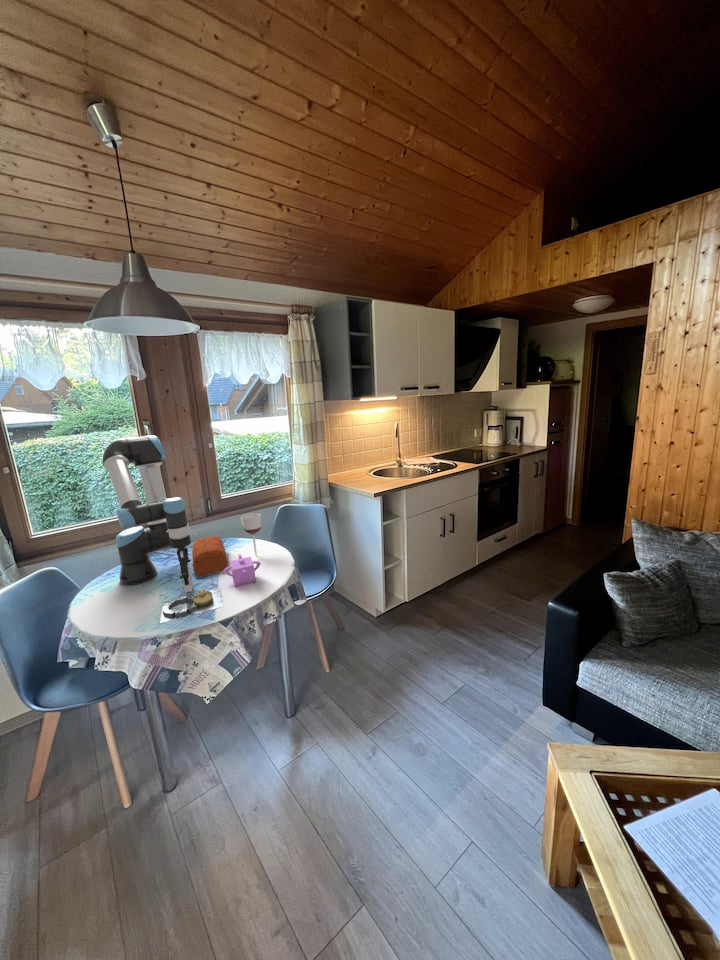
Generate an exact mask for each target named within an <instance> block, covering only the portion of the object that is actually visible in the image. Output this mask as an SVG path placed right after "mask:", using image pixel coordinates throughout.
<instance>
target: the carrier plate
mask: <svg viewBox="0 0 720 960" xmlns="http://www.w3.org/2000/svg"><path fill="white" fill-rule="evenodd" d="M208 591H209V592H211V593H212V596H213V601H212V602H211V603H210V604H208V605H205V606H198V605H197V604H195V603H194V601H193V597H194V596H195V595H196V594H197V593H196V594H191V595H188V596H187V595H183V596H180V597H176V598H175V599H172V600H171V599H170V600H168V601H167V600H166V601H163V602H162V603H161V612H160V620H159V624H162V623H166V622H170V621H171V622H172V621H173V620H177V619H182V618H186V617H189V616H193V615H197V614H200V613H204V612H207V611H208V612H209V611H211V610H212V611H213V610H216V609H219V608H223V607H225V604H224V599H223V593H222V588H216V589H211V590H208Z"/></svg>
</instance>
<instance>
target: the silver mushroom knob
mask: <svg viewBox="0 0 720 960" xmlns="http://www.w3.org/2000/svg"><path fill="white" fill-rule="evenodd" d="M191 575H192V574H191ZM191 575H189V576H190V581H191V587H192V591H190V592H186V593H185V594H192V593H193V592H194V584H193V577H191Z"/></svg>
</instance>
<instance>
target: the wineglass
mask: <svg viewBox="0 0 720 960" xmlns="http://www.w3.org/2000/svg"><path fill="white" fill-rule="evenodd" d="M240 519H241V520H240V521H241V524H242V528H243V530H244V531H245V533H247V534H250V535H252V541H253V548H254V554H252V555H250V556H249V557H251V559H252V562H253V561H261V560H263V559H264V558H265V557H266V556H265V554H264V553H263V554H262V553H258V552H257V546H256V540H255V539H256V538H255V534H257V533H258V532H259V531H260V530H261V527H262V515H261V513H259V512H251V513H250V512H249V513H245V514H243V515H241V516H240Z"/></svg>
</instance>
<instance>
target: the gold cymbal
mask: <svg viewBox="0 0 720 960" xmlns="http://www.w3.org/2000/svg"><path fill="white" fill-rule="evenodd" d="M209 591H210V590H208V591H206V590H205V589H200V590H198V593H196V595H195V594H194V595H195V596H194V597H193V601H194V603H195V604H197V605H198V606H205V605H208V604H210V603H211V602H212V601H213V596H212V593H211V592H209Z"/></svg>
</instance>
